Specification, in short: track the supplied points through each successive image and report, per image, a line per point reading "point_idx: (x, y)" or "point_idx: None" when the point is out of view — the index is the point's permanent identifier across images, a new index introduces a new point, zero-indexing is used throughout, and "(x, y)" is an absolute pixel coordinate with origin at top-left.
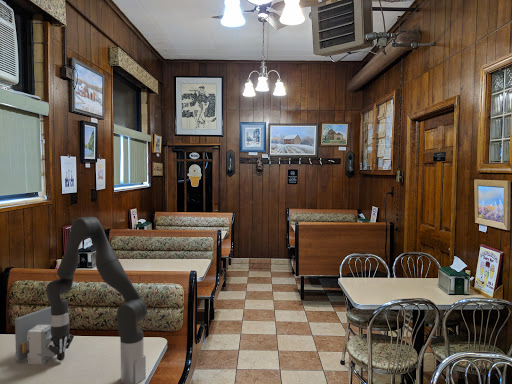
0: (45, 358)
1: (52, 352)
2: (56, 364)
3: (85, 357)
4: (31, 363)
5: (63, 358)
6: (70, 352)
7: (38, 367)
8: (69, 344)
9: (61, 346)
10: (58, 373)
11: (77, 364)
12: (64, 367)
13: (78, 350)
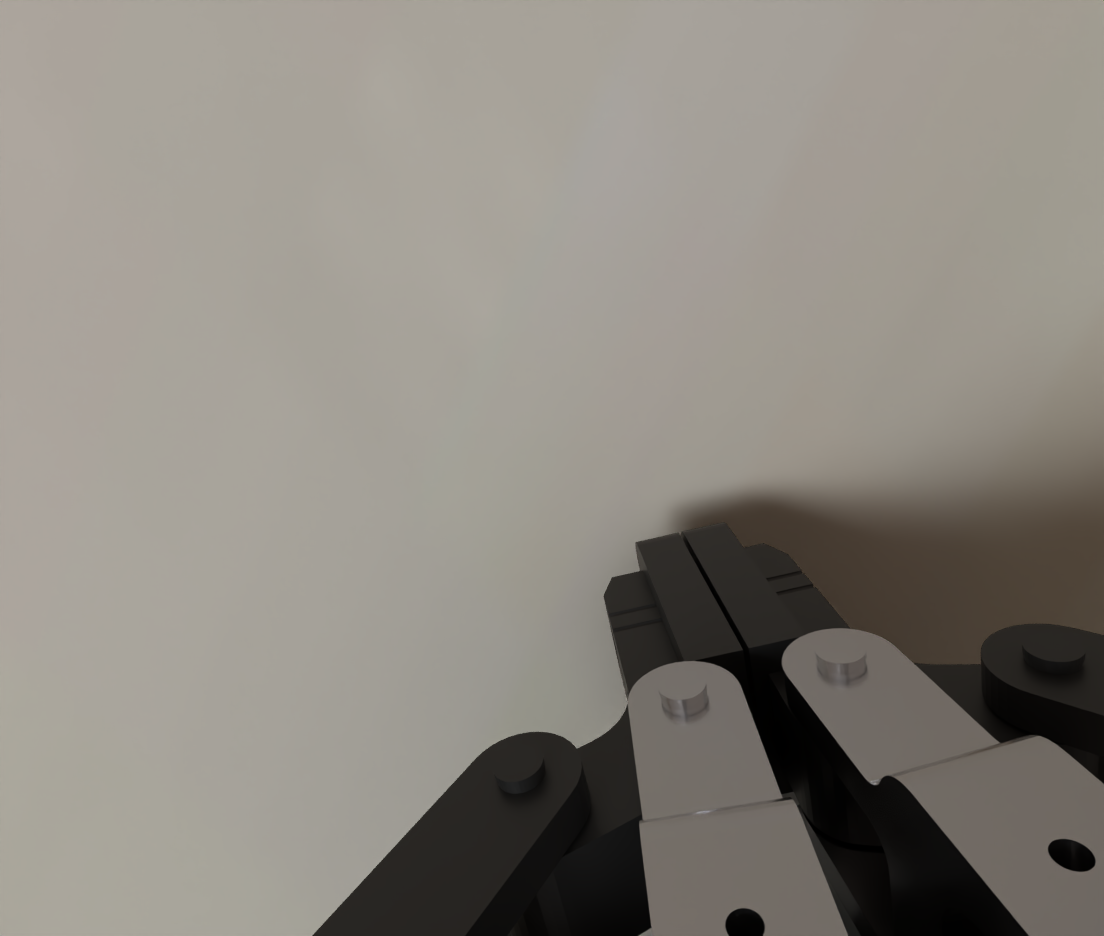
0: None
1: None
2: None
3: (105, 338)
4: None
5: (654, 546)
6: (297, 838)
7: None
8: (408, 869)
9: (991, 811)
10: (1006, 53)
11: (435, 116)
12: (738, 253)
13: (120, 804)
